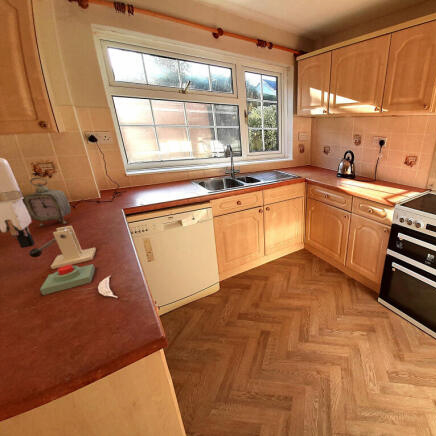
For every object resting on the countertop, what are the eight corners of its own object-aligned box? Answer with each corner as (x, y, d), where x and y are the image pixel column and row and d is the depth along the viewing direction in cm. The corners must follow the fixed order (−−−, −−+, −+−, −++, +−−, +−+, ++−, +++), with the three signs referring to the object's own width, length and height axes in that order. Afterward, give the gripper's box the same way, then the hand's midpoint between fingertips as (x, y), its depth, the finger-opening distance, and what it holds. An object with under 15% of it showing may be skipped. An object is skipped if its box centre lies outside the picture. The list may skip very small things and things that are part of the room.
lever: (34, 260, 88) (25, 254, 86) (37, 256, 90) (28, 250, 88) (71, 235, 91) (62, 229, 89) (73, 232, 93) (65, 226, 92)
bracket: (51, 269, 89) (36, 237, 84) (58, 258, 96) (45, 228, 91) (92, 259, 94) (80, 229, 89) (96, 249, 101) (85, 221, 96)
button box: (42, 295, 75) (37, 284, 73) (51, 280, 82) (46, 270, 81) (90, 282, 80) (86, 272, 79) (95, 269, 88) (91, 259, 86)
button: (58, 276, 78) (56, 272, 77) (61, 271, 81) (59, 266, 80) (72, 273, 79) (70, 268, 79) (75, 267, 82) (73, 263, 82)
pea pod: (97, 281, 81) (96, 277, 80) (113, 276, 83) (112, 272, 83) (100, 305, 70) (98, 301, 69) (118, 298, 72) (116, 294, 72)
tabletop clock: (35, 228, 125) (12, 180, 115) (47, 221, 133) (27, 176, 124) (67, 225, 127) (47, 178, 118) (77, 219, 136) (60, 174, 126)
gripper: (0, 193, 84) (22, 240, 91) (-24, 204, 72) (3, 258, 79) (29, 190, 88) (48, 236, 94) (11, 200, 76) (34, 252, 82)
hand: (28, 245), depth 87 cm, fingers closed
